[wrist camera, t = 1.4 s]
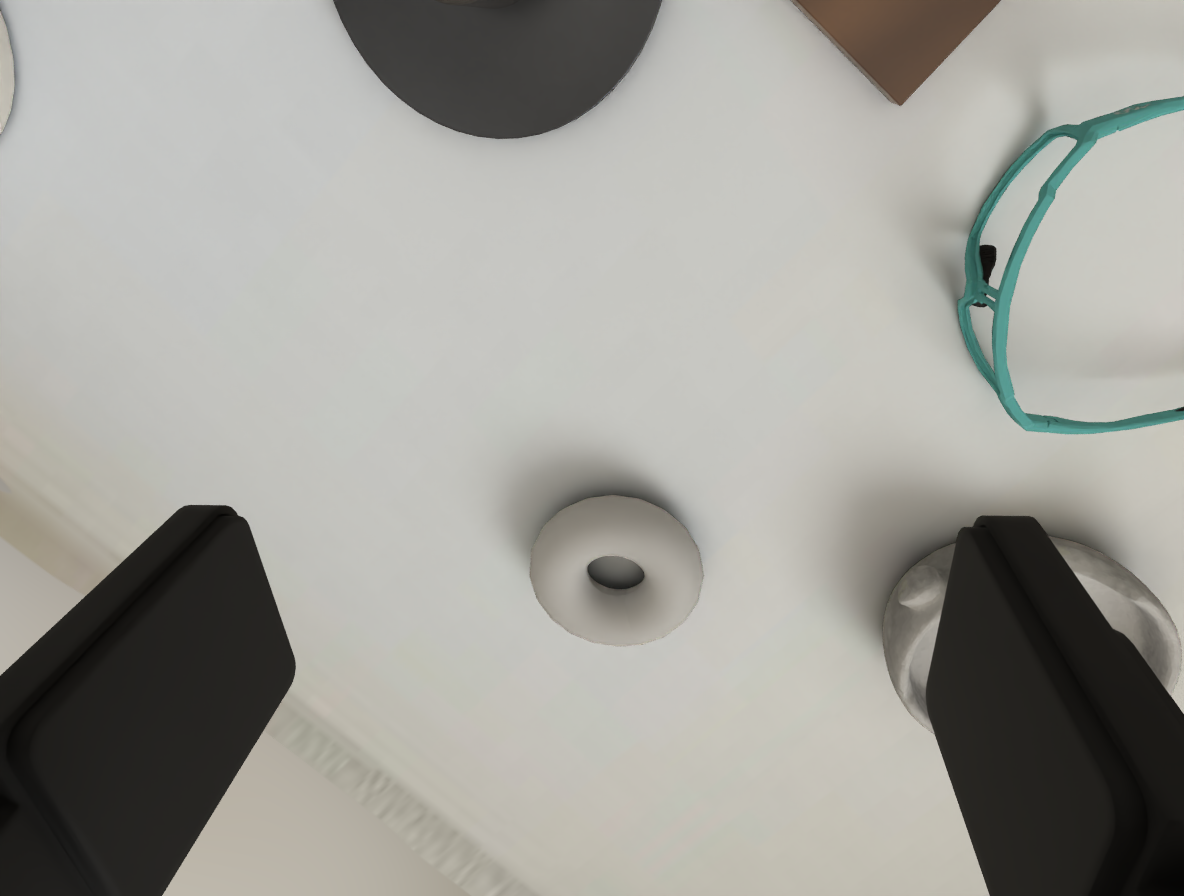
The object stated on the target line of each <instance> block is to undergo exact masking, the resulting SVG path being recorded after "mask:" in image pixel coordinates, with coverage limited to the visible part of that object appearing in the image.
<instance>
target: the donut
mask: <svg viewBox="0 0 1184 896" xmlns="http://www.w3.org/2000/svg"><path fill="white" fill-rule="evenodd" d="M604 556H618V557H624V558H626V559H629V560H631V561H633V562H635V563H636V564H637V565H639V566H640V567H641V568H642V570H643V571H644V579H643V580H642V582H641V583H640V584H638V585H636V586H634V587H631V588H627V589H613V588H608V587H605V586H603V585H601V584H598V583H597V582H596V581H595V580H593V579H592V578H591V577H590V576H589V574H588V571H587V566H588V565H589V563H590V562H592V561H593V560H595V559H597V558H600V557H604ZM703 577H704V573H703V568H702V563H701V557H700V552H699V549H698V547H697V545H696V544H695V542H694V540H693V539H692V537H691V535H690V534H689V532H688V530H687V529H686V527H684V526H683V525H682V524H681V523H680V522H678V521H677V520H676V519H675V518H674V517H672V516H671V515H670V514H669V513H668V512H666V511H665V510H664V509H662V508H660V507H658V506H655V505H653V504H651V503H648V502H646V501H644V500H642V499H638V498H631V497H625V496H618V495H608V496H600V497H592V498H587V499H584V500H582V501H580V502H577V503H575V504H573V505H571V506H568V507H566V508H564V509H562V510H560V511H559V512H558V513H557V514H556V515H555V516H554V517H553V518H552V519H550V520H549V521H548V522H547V523H546V524H545V525H544V526H543V528H542V530H541V532H540V534H539V536H538V538H537V540H536V541H535V543H534V545H533V547H532V549H531V563H530V579H531V582H532V585H533V589H534V592H535V595H536V598H537V600H538V602H539V603H540V604H541V606H542V607H543V608H544V610H545V611H546V612H547V614H548V615H549V616H550V618H551V619H552V620H553V621H555V622H556V623H557V624H559V625H560V626H561V627H563V628H564V629H565V630H567V631H568V632H569V633H571V634H573V635H576V636H578V637H580V638H583V639H585V640H588V641H590V642H593V643H598V644H604V645H611V646H617V647H618V646H631V645H642V644H645V643H648V642H651V641H654V640H657V639H660V638H662V637H665V636H666V635H667V634H669V633H670V632H672V631H673V630H674V629H676V628H677V627H679V626H680V625H681V624H683V622H684V621H685V620H686V619H687V617H688V616H689V615H690V613H691V612H692V610H693V609H694V607H695V606H696V604H697V603H698V600H699V596H700V591H701V586H702V582H703Z"/></svg>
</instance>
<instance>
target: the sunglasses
mask: <svg viewBox="0 0 1184 896" xmlns="http://www.w3.org/2000/svg"><path fill="white" fill-rule="evenodd" d="M1181 110H1184V96H1183V97H1176V98H1170V99H1163V100H1156V101H1150V102H1145V103H1140V104H1135V105H1132V106H1129V107H1127V108H1124V109H1121V110H1119V111H1116V112H1114V113H1110V114H1107V115H1103V116H1100V117H1097V118H1094V119H1091V120H1088V121H1085V122H1083V123H1081V124H1079V125H1069V124H1067V125H1062V126H1059V127H1056V128H1053V129H1051V130H1048V131H1046V132H1045V133H1044V134H1043V135H1042V136H1041V137H1040V138H1039V139H1038V140H1036V141H1035V142H1034V143H1033V144H1032V145H1031V146H1030V147H1029V148H1027V149H1026V150H1025V151H1024V152H1023V153H1022V154H1021V156H1020V157H1019V158H1018V159H1017V160H1016V161H1015V162H1014V163H1013V165H1012V166H1011V167H1010V168H1009V169H1008V171H1007V172H1006V173H1005V174H1004V176H1003V177H1002V179H1001V180H1000V182H999V183H998V185H997V186H996V187H995V189H994V190H993V192H992V193H991V195H990V196H989V198H988V199H987V200H986V202H985V203H984V205H983V206H982V208H981V210H980V213H979V215H978V217H977V220H976V222H975V224H974V226H973V229H972V231H971V233H970V236H969V238H968V241H967V247H966V253H965V273H966V279H967V281H966V287H965V293H964V297H963V298H962V299H959V300H958V313H959V320H960V326H961V330H962V333H963V336H964V339H965V342H966V345H967V348H968V350H969V352H970V354H971V356H972V358H973V360H974V362H975V364H976V366H977V368H978V369H979V371H980V372H981V374H982V375H983V376H984V378H985V379H986V380H987V381H988V383H989V384H990V385H991V387H992V388H993V389H994V390H995V392H996V393H997V395H998V398H999V400H1000V402H1001V404H1002V405H1003V407H1004V409H1005V410H1006V412H1007V413H1008V415H1009V416H1010V417H1011V418H1012V419H1013V420H1014V421H1015V422H1016V423H1017V424H1019V425H1020V426H1021V427H1022V428H1023V429H1025V430H1026V431H1035V432H1049V433H1060V434H1094V433H1103V432H1112V431H1120V430H1129V429H1135V428H1141V427H1147V426H1152V425H1157V424H1163V423H1168V422H1173V421H1178V420H1183V419H1184V407H1181V408H1177V409H1174V410H1168V411H1163V412H1158V413H1152V414H1147V415H1142V416H1137V417H1133V418H1128V419H1124V420H1119V421H1115V422H1106V423H1105V422H1081V421H1073V420H1068V419H1063V418H1059V417H1053V416H1041V415H1034V414H1027V413H1024V412H1023V411H1022V410H1021V408H1020V406H1019V405H1018V403H1017V401H1016V399H1015V398H1014V390H1013V386H1012V382H1011V379H1010V375H1009V371H1008V367H1007V357H1006V344H1007V333H1008V322H1009V311H1010V304H1011V300H1012V296H1013V293H1014V289H1015V285H1016V281H1017V278H1018V274H1019V270H1020V266H1021V263H1022V261H1023V259H1024V256H1025V254H1026V252H1027V249H1028V247H1029V245H1030V242H1031V240H1032V237H1033V236H1034V234H1035V232H1036V230H1037V228H1038V226H1039V224H1040V222H1041V221H1042V219H1043V217H1044V215H1045V213H1046V211H1047V210H1048V208H1049V206H1050V205H1051V203H1052V202H1053V200H1054V199H1055V193H1056V190H1057V188H1058V187H1059V186H1060V184H1061V183H1062V182H1063V180H1064V179H1065V178H1066V176H1067V175H1068V174H1069V172H1070V171H1071V170H1072V168H1073V167H1074V166H1075V165H1076V164H1077V163H1078V162H1079V161H1080V160H1081V159H1082V157H1083V156H1084V155H1085V154H1086V153H1087V152H1088V151H1089V150H1090V149H1091V148H1092V147H1093V146H1094V144H1095V143H1096V141H1097V139H1100V138H1102V137H1105V136H1107V135H1110V134H1112V133H1115V132H1116V130H1118V131H1121V130H1124V129H1126V128H1129V127H1131V126H1134V125H1136V124H1139V123H1142V122H1144V121H1147V120H1150V119H1153V118H1156V117H1159V116H1162V115H1166V114H1170V113H1174V112H1177V111H1181ZM1067 135H1068V136H1067ZM1063 136H1067V137H1070V138H1073V139H1076V140H1077V143H1076V145H1075V147H1074V148H1073V149H1072V150H1071V151H1070V153H1069V154H1068V155H1067V156H1066V157H1065V159H1064V160H1063V161H1062V162H1061V163H1060V164H1059V166H1058V167H1057V168H1056V169H1055V170H1054V172H1053V173H1052V174H1051V176H1050V177H1049V178H1048V179H1047V181H1046V182H1045V183H1044V185H1043V186H1042V187H1041V189H1040V192H1039V198H1038V202H1037V203H1036V205H1035V206H1034V208H1033V210H1032V211H1031V213H1030V215H1029V217H1028V219H1027V220H1026V222H1025V224H1024V226H1023V228H1022V230H1021V233H1020V235H1019V237H1018V239H1017V241H1016V243H1015V245H1014V248H1013V250H1012V253H1011V255H1010V258H1009V260H1008V263H1007V265H1006V268H1005V271H1004V274H1003V277H1002V280H1001V283H1000V287H999V290H997V289H994V288H993V287H991V286H989V285H988V284H989V277H990V276H991V271H992V269H993V268H994V266H995V262H996V248H995V247H994V246H992V245H981V246H979V243H980V237H981V234H982V231H983V229H984V227H985V225H986V222H987V220H988V218H989V216H990V214H991V213H992V211H993V209H994V208H995V206H996V204H997V203H998V201H999V199H1000V198H1001V196H1002V194H1003V193H1004V192H1005V190H1006V189H1007V187H1008V186H1009V185H1010V183H1011V182H1012V181H1013V180H1014V179H1015V177H1016V176H1017V175H1018V174H1019V173H1020V171H1021V170H1022V169H1023V168H1024V167H1025V166H1026V165H1027V164H1028V163H1029V162H1030V161H1031V160H1032V159H1033V158H1034V157H1035V156H1036V155H1037V154H1038V153H1039V152H1040V151H1041V150H1042V149H1043V148H1044V147H1046V146H1047V145H1048V144H1049V143H1050V142H1051V141H1053V140H1054V139H1056V138H1057V137H1063ZM987 294H988V295H989V296H991V297H993V298H995V299H996V301H995V302H994V301H992V300H991V299H989V298H988V297H986V295H987ZM971 305H973V306H977V307H985V306H987V305H988V306H989V307H990V308H991V309H992V310H993V311H994V318H993V327H992V349H993V361H994V370H995V373H994V371H993V370H992V368H991V367H990V365H989V364H988V362H987V361H986V359H985V358H984V355H983V353H982V351H981V348H980V346H979V344H978V341H977V339H976V336H975V334H974V332H973V329H972V324H971V317H970V311H969V306H971Z"/></svg>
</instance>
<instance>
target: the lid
mask: <svg viewBox="0 0 1184 896" xmlns="http://www.w3.org/2000/svg"><path fill="white" fill-rule="evenodd" d="M333 1H334V3H335V6H336V8H337V11H338V13H339V16H340V18H341V21H342V23H343V25H344V27H345V28H346V30H347V32H348V34H349V36H350V38H351V40H352V42H353V43H354V45H355V47H356V48H357V50H358V51H359V53H360V54H361V56H362V57H363V58H364V60H365V61H366V63H367V64H368V66H369V67H370V68H371V69H372V70H373V72H374V73H375V74H376V75H377V76H378V78H379V79H380V80H381V81H382V82H383V83H384V84H385V85H386V86H387V87H388V88H389V89H390V90H391V91H392V92H393V93H394V94H395V95H396V96H397V97H399V98H400V99H401V100H402V101H403V102H405V103H406V104H407V105H409V106H410V107H412V108H413V109H414V110H416V111H417V112H418V113H420V114H422V115H424V116H425V117H427V118H429V119H431V120H432V121H434V122H436V123H438V124H440V125H443V126H445V127H448V128H450V129H453V130H455V131H458V132H462V133H466V134H470V135H474V136H477V137H486V138H495V139H507V138H522V137H528V136H533V135H539V134H542V133H545V132H548V131H551V130H554V129H557V128H559V127H561V126H563V125H565V124H567V123H569V122H571V121H573V120H575V119H577V118H579V117H580V116H582V115H583V114H585V113H586V112H587V111H589V110H590V109H592V108H593V107H595V106H596V105H597V104H598V103H599V102H601V101H602V100H603V99H604V98H605V97H606V96H607V95H608V94H609V93H610V92H611V91H613V90H614V88H615V87H616V86H617V85H618V84H619V82H620V81H621V80H622V79H623V78H624V76H625V75H626V74H627V73H628V72H629V70H630V68H631V67H632V65H633V64H634V62H635V61H636V59H637V58H638V56H639V55H640V53H641V51H642V49H643V47H644V45H645V43H646V41H647V39H648V37H649V35H650V33H651V31H652V29H653V26H654V23H655V20H656V17H657V14H658V12H659V9H660V6H661V2H662V0H333Z"/></svg>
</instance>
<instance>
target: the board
mask: <svg viewBox="0 0 1184 896" xmlns="http://www.w3.org/2000/svg"><path fill="white" fill-rule="evenodd" d="M791 1H792V2H793V3H794V4H795V5H796V6H797V7H798V8H799V9H800V10H801V11H802V12H803V13H804V14H805V15H806V16H807V17H808V18H809V20H810V21H811V22H812V23H813V24H814V25H815V26H816V27H817V28H818V29H819V30H820V31H821V32H822V33H823V34H824V35H825V36H826V37H827V38H828V39H829V40H830V41H831V42H832V43H833V44H834V45H835V46H836V47H837V48H838V49H839V50H840V51H841V52H842V53H843V54H844V55H845V56H846V57H847V58H848V59H849V60H850V61H851V62H852V63H853V64H854V65H855V66H856V67H857V68H858V69H859V70H860V71H861V72H862V73H863V74H864V75H865V76H866V77H867V78H868V79H869V80H870V81H871V82H872V83H873V84H874V85H875V86H876V88H877V89H878V90H879V91H880V92H881V93H882V94H883V95H884V96H885V97H886V98H887V99H888V100H889V101H890V102H891V103H894V104H897V105H899V106H901V105H902V104H903V103H904V102H905V101H906V100H907V99H908V98H909V97H910V96H911V95H912V94H913V93H914V92H915V91H916V89H917V88H918V87H919V86H920V85H921V84H922V83H923V82H924V81H925V80H926V79H927V78H928V77H929V76H930V75H931V74H932V73H933V72H934V71H935V69H936V68H937V67H938V66H939V65H940V64H941V63H942V62H943V61H944V60H945V59H946V58H947V57H948V56H949V55H950V54H951V53H952V52H953V51H954V49H955V48H956V47H957V46H958V45H959V44H960V43H961V42H962V41H963V40H964V39H965V38H966V37H967V36H968V35H969V34H970V33H971V32H972V30H973V29H974V28H975V27H976V26H977V25H978V24H979V23H980V22H981V21H982V20H983V19H984V18H985V17H986V16H987V15H988V14H989V13H990V12H991V10H992V9H993V8H994V7H995V6H996V5H997V4H998V3H999V2H1000V1H1001V0H791Z"/></svg>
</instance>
